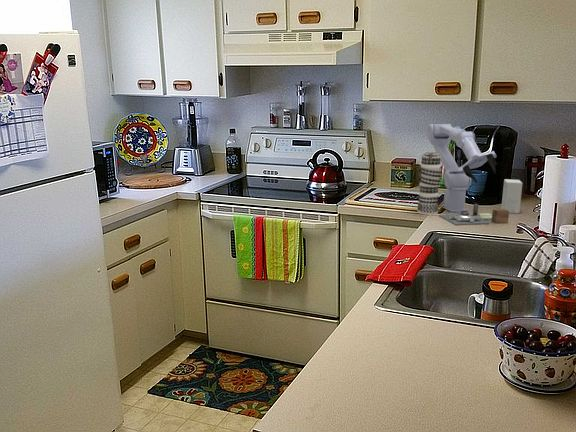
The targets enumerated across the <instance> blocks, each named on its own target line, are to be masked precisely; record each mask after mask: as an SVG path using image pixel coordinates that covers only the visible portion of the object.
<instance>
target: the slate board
mask: <svg viewBox="0 0 576 432" xmlns="http://www.w3.org/2000/svg"><path fill="white" fill-rule="evenodd" d="M438 217H440V218H442V219H443V220H445V221H446V222H447V221H448V222H449V223H451V224H453V225H454V226H468V225H470V226H473V225H475V226H476V225H489V224H490V222H489V221H487V220H483V219H481V220H476V221H474V222H470V221H457V220H455V219H450V218H449V213H448V214H447V213H446V214H439V215H438Z"/></svg>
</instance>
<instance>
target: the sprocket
mask: <svg viewBox="0 0 576 432" xmlns="http://www.w3.org/2000/svg"><path fill="white" fill-rule="evenodd" d="M448 214H449V218H450V219H455V220H457V221H470V222H474V221H476V220H481V217H480V214H481V213H479V204H478V203H473V210H472V211H455V212H451V211H449V213H448Z"/></svg>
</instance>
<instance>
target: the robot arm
mask: <svg viewBox="0 0 576 432" xmlns="http://www.w3.org/2000/svg"><path fill="white" fill-rule="evenodd" d="M426 136H427V137H426V138H427V139H428V140H429V143H430V144H431V145H432V146H433V149H434V152H436V153H439V155H440V156H441V159H440V164H441V166H442V167H443V169H444V170H445V172H444V173H443V178H442V179H443V182H444V186H445V187H446V190H445V191H444V196H443V206H444V207H442V209H445V210H447V211H449V212H451V213H454V212H456V211H460V212H469V209H468V208H466V207H465V206H466V193H467V191H468V189H469V188H470V187H471V186H472V180H473V181H474V182H475V183H476V184H477V183H478V180H477V178H476V176H475V175H474V174H473V171H472V169H477V168H479V167H482V166H483V165H484V164H485V163H487V162H488V164H489V166H490V167H491V169H492V171H493V173H494V174H495V175H496V174H497V172H496V171H497V170H496V158H497V157H498V156H497V154H496V153H495V151H494V150H492V151H489V152H485V153H482V151H481V150H480V148H479V147H478V145H477V143H476V135H475V133H474V131H466V130H465V129H464V128H463V129H462V128H461V126H455V127H453V126H452V124H451V123H441V124H439V123H436V124H435V123H434V124H433V123H429V124H428V125H427V128H426ZM451 141H453V142H455V145H456V147H459V148H460V149H461V150H462V152H463V154H464V155H465V158H466V159H467V161H466V162H465V163H464V164H463V165H461V166H458V164H457V162H456V160H455V159H454V157H453V155H452V153H451V151H450V149H449V147H448V145H450V144H451Z"/></svg>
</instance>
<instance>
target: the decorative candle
mask: <svg viewBox="0 0 576 432" xmlns="http://www.w3.org/2000/svg"><path fill="white" fill-rule="evenodd" d="M440 159H441V156H440V155H439V153H436V151H426V152H424V153H423V155H421V163H420V165H419V166H418V168H419V170H418V172H419V174H418V177H419V178H418V181H419V183H418V184H419V193H418V195H417V198H418V199H417V201H418V203H417V213H418V214H420V215H425V216H426V215H428V216H430V215H431V216H432V215H433V216H435V215H437V214H439V206H440V205H439V202H440V200H439V199H440V196H439V193H440V192H439V187H440V186H441V182H442V181H441V180H440V178H441V177H442V175H441V174H443V173H442V171H441V169H442V168H443V166H442V163H441V161H440Z"/></svg>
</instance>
